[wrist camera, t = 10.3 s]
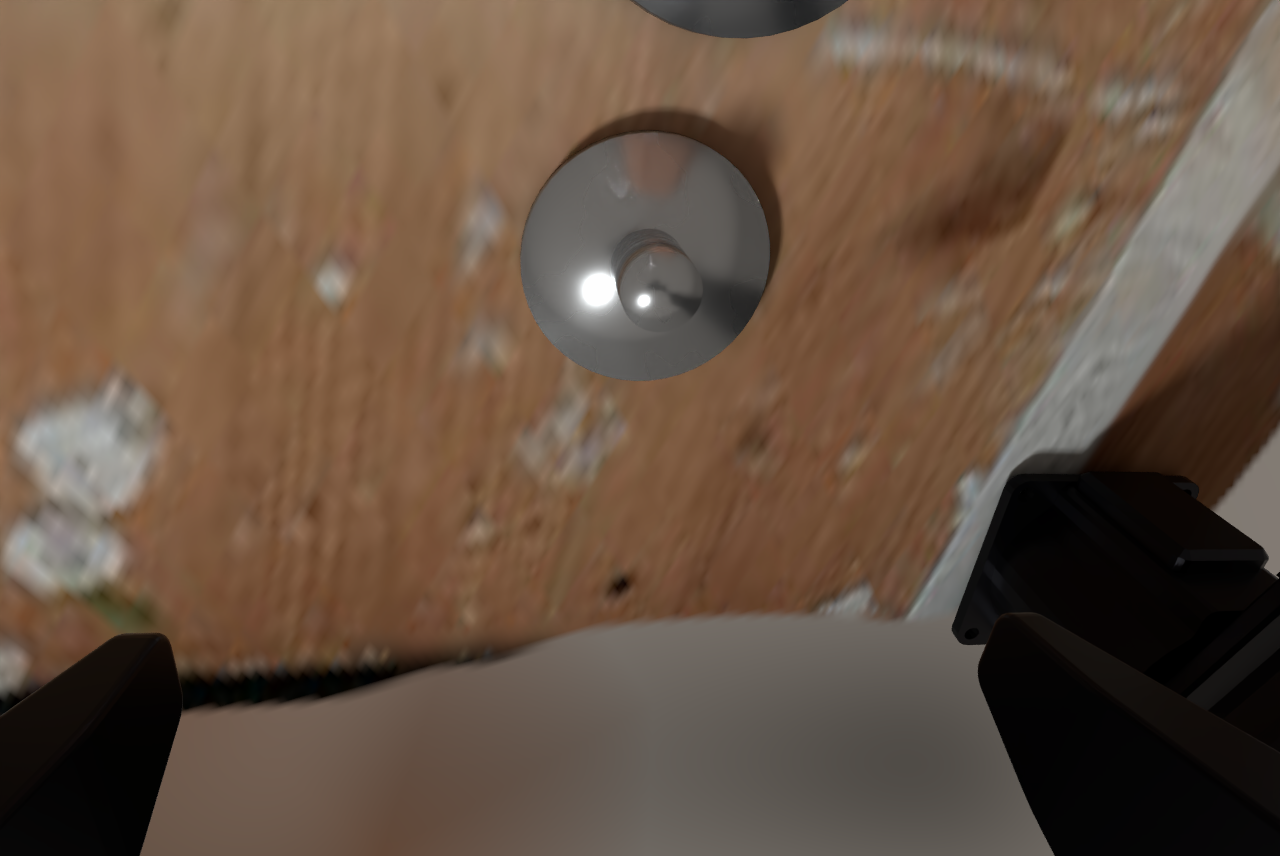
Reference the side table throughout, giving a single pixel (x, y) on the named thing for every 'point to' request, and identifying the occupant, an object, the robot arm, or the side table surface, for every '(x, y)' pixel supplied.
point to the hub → (738, 15)
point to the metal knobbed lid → (644, 255)
